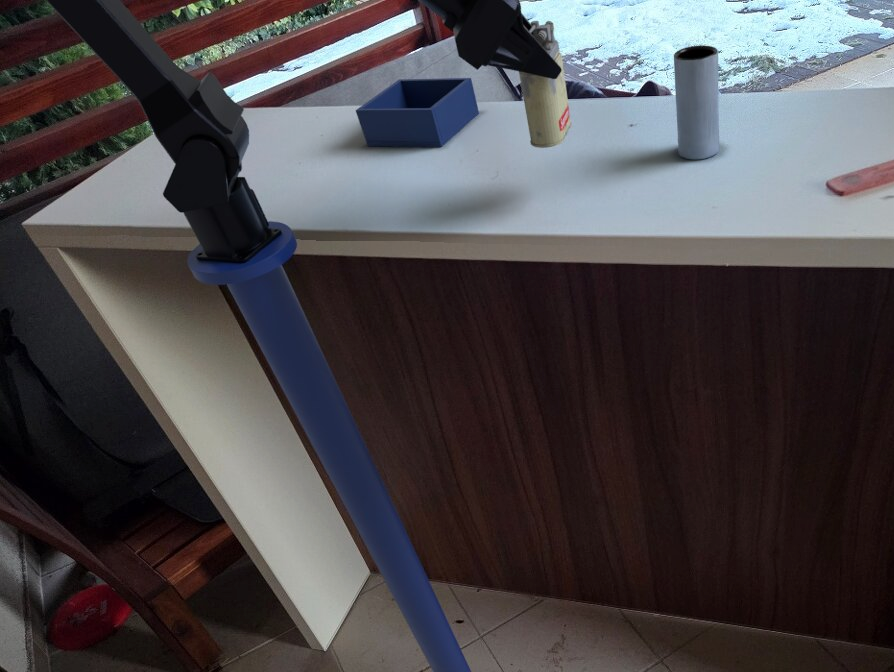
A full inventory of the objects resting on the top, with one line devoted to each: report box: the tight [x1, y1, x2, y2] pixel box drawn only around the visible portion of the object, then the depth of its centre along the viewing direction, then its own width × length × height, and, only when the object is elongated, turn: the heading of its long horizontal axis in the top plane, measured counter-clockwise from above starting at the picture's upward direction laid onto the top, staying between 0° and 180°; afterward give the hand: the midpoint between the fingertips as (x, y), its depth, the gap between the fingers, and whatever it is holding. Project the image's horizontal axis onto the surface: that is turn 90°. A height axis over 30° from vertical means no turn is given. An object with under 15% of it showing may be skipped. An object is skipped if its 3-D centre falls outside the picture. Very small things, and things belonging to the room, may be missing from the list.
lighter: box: [518, 20, 573, 149], centre depth 73 cm, size 7×4×10 cm, turn 171°
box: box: [355, 77, 480, 148], centre depth 99 cm, size 11×11×5 cm
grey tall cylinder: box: [673, 45, 720, 160], centre depth 80 cm, size 4×4×10 cm
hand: (553, 63), depth 72 cm, fingers closed on lighter, 7 cm apart
